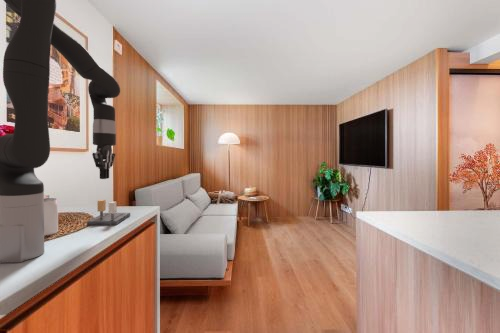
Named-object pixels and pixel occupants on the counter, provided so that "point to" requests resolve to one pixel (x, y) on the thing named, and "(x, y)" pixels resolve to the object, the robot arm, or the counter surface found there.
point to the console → (108, 219)
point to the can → (50, 216)
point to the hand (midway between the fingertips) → (104, 178)
